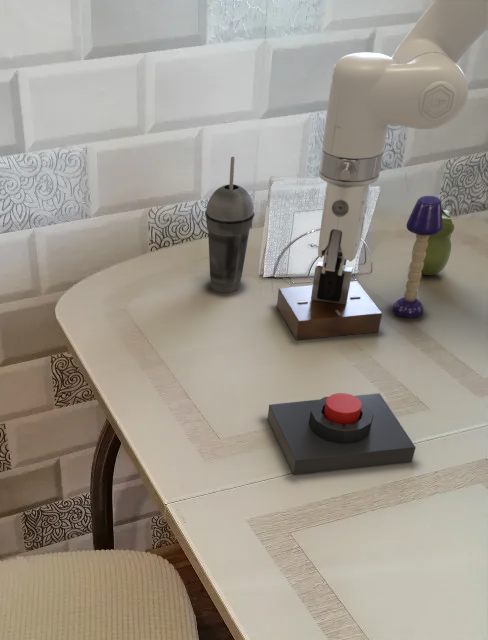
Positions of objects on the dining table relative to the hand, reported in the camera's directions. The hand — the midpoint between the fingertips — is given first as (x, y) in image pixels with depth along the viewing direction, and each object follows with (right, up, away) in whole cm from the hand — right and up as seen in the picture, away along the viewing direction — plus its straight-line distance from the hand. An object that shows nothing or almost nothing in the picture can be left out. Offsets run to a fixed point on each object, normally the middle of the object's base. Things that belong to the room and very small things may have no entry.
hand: (329, 294), depth 114 cm
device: (-4, -22, -19) cm, 29 cm away
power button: (-4, -19, -21) cm, 29 cm away
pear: (+19, +6, +12) cm, 23 cm away
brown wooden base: (0, -3, +2) cm, 4 cm away
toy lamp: (+12, -2, +3) cm, 13 cm away
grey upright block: (0, -1, 0) cm, 1 cm away
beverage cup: (-13, +4, +11) cm, 18 cm away
